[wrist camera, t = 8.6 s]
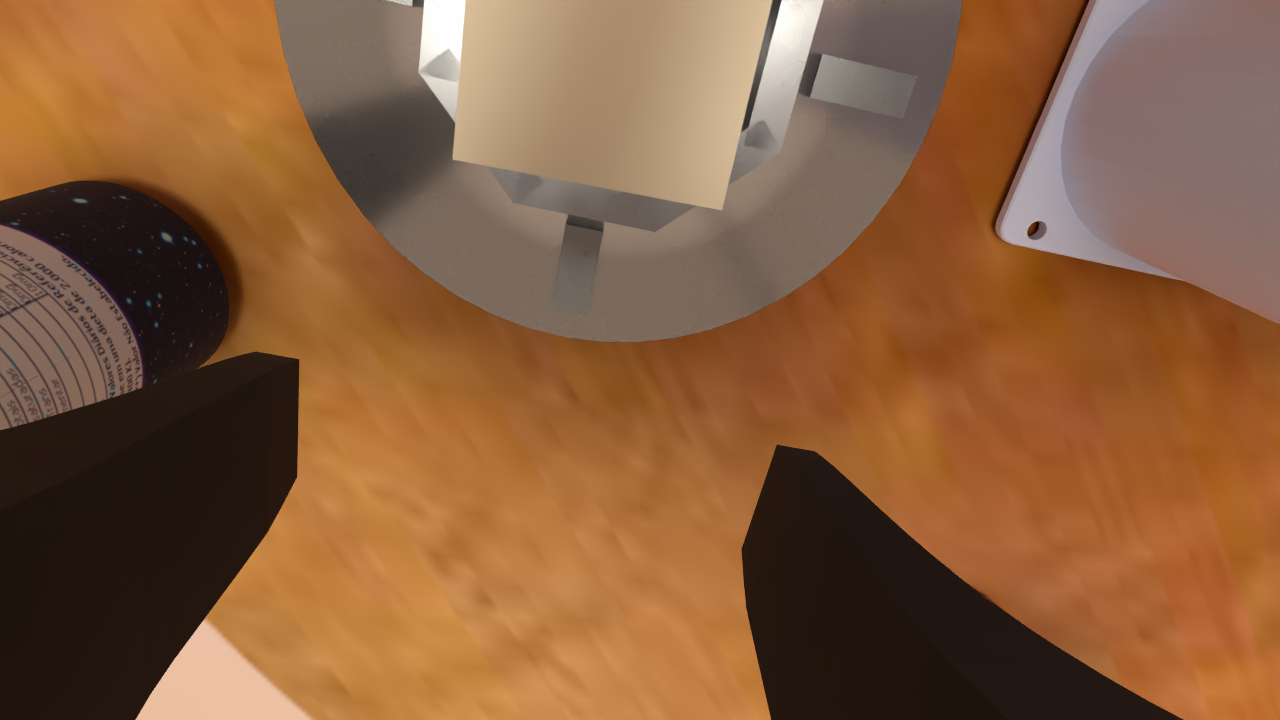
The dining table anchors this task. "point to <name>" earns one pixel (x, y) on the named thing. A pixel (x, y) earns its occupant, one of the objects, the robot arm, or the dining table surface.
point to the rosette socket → (614, 220)
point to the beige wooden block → (610, 91)
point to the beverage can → (99, 298)
